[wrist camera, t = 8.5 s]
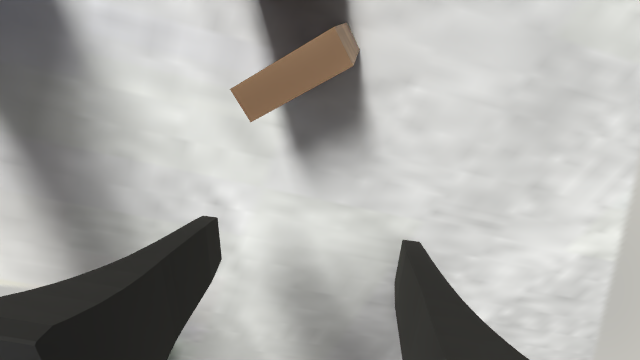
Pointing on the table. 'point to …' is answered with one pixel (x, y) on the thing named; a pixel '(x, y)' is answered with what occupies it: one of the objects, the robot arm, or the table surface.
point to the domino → (297, 72)
